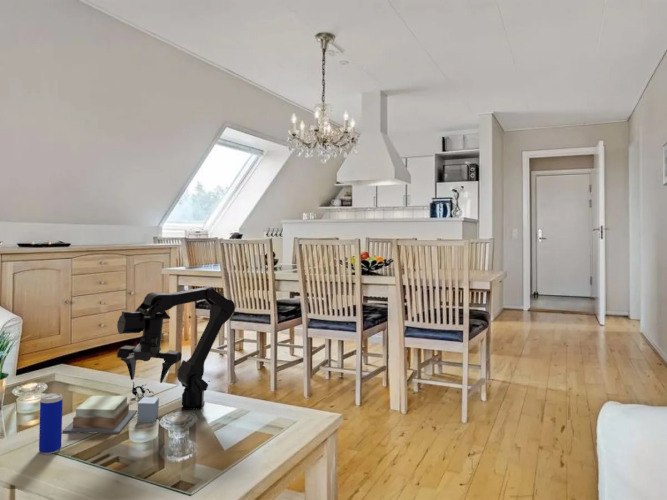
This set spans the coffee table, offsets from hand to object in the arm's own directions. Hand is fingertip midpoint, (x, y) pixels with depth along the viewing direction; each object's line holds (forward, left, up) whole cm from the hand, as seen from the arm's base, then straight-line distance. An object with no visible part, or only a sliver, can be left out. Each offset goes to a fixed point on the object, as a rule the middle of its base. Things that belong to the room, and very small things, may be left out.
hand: (146, 381), depth 150 cm
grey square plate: (+12, +3, -12) cm, 17 cm away
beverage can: (+18, +22, -12) cm, 31 cm away
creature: (+7, -19, -12) cm, 24 cm away
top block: (-1, 0, -12) cm, 12 cm away
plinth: (+12, +3, -12) cm, 17 cm away
